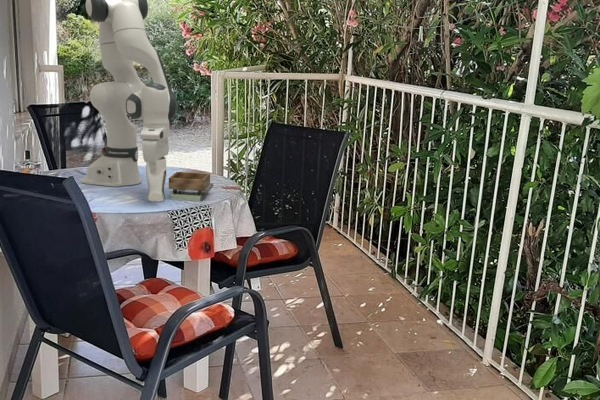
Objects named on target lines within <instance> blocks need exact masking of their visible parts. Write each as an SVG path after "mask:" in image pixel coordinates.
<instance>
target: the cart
mask: <svg viewBox="0 0 600 400" xmlns="http://www.w3.org/2000/svg"><path fill="white" fill-rule="evenodd" d="M210 183H211V173H202V172H189V171H188V172H187V171H185V172H184V171H175V173H173V174H172V175H171V176H170V177H168V190H172V193H177V190H184V191H191V192H192V191H195V192H197V195H202V191H205V190H206V188H207V187H208V186H209V185H210Z"/></svg>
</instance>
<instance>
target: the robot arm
mask: <svg viewBox="0 0 600 400" xmlns="http://www.w3.org/2000/svg"><path fill="white" fill-rule="evenodd" d="M85 9H86V14H87V16H88V18H90V19H91V20H92V21H95V22H99V25H98V38H99V39H98V41H99V48H100V56H101V62H102V63H101V64H102V67H104V68H103V69H104V70H106V71H108V72H109V73H110V74H111V76H112V77H113V79H114V81H104V82H101V83H97V84H95V85H93V86H92V88H91V89H90V93H89V97H90V99H89V100H90V103H91V104H92V106H93V107H94V108H95V109H96V110H97V111H98V112H99V113H100V115H101V117H102V118H103V120H104V124H105V128H106V129H105V131H106V143H107V144H106V145H105V146H103V148H101V149H100V150H101V151H100V152H101V153H102V155H101V156H100V157H98V158H97V159H96V160H95V161H93V162H92V163H91V164H89V165H88V168H87V171H86V172H87V173H86V176H84V177H82V178H81V180H80V183H81V184H86V185H87V184H88V185H94V186H95V185H97V186H105V187H114V188H116V187H122V186H133V185H137V184H141V183H142V180H141V177H140V171H139V166H138V161H139V149H138V147H139V146H138V145H137V144H138V143H137V141H138V139H137V138H138V136H137V135H138V133H137V132H138V131H137V127H136V125H135V124H134V123H133V122H132V121H130V120H129V118H128V116H129V117H130V118H131V119H132V120H136V121H142V130H141V132H140V137H139V138H140V140H141V142H142V143H141V146H142V147H141V149H142V159H143V161H144V163H146V162H149V167H150V173H151V174H155V173H156V172H157V171H156V170H157V169H156V161H157V160H159V159H161V158H162V157H165V158H166V156H167V155H169V149H170V148H169V146H170V145H169V138H170V120H172V119H173V118H174V117H175V116H176V114H177V112H178V109H179V105H178V100H177V98H176V96H175V94H174V93H173V90H172V87H171V85H170V84H171V83H170V82H169V79H168V75H167V72H166V70H165V69H166V68H165V67H164V63H163V61H162V58H161V56H160V53H159V52H158V50H157V49H156V48H154V46H153V45H152V44H151V42H150V40H149V38H148V35H147V31H146V26H145V22H144V20H145V19H146V18H147V16H148V13H149V3H148V0H86V1H85ZM134 62H135V63H138V64H139V65H141V66H142V67H144V68H146V69H147V71H148V72H149V74H150V77H151V79H152V82H153V83H152V82H150V83H149V82H148V83H144V82H143V81H142V80H141V78H140V77H139V75H138V73H137V70H136V69H135V66H134Z"/></svg>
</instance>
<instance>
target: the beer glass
mask: <svg viewBox="0 0 600 400" xmlns="http://www.w3.org/2000/svg"><path fill="white" fill-rule="evenodd" d="M145 163H146V164H145V172H146V173H145V174H146V182H147V185H148V194H147V197H146V198H147V201H149V202H153V203H156V202H157V203H159V202H160V203H161V202H164V201H165V200H166V196H165V185H166V180H167V158H166V156H165V157H162V158H161V159H159V160H157V161H156V169H157V170H156V171H157V172H156V173H155V174H151V173H150V167H149V162H145Z"/></svg>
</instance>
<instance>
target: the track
mask: <svg viewBox="0 0 600 400" xmlns="http://www.w3.org/2000/svg"><path fill="white" fill-rule="evenodd" d="M213 186H214V182H210V185H209V186H208V187H207V188H206V190H205V191H202V195H198V194H193V193H184V191H185V190H177V193H173V192H171V193H170V200H174V201H186V202H187V201H189V202H190V201H191V202H201V201H202V200H203V198H205V196H206V195H207V194H208V192H209V191H210V190H211V189H212V188H213Z"/></svg>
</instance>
